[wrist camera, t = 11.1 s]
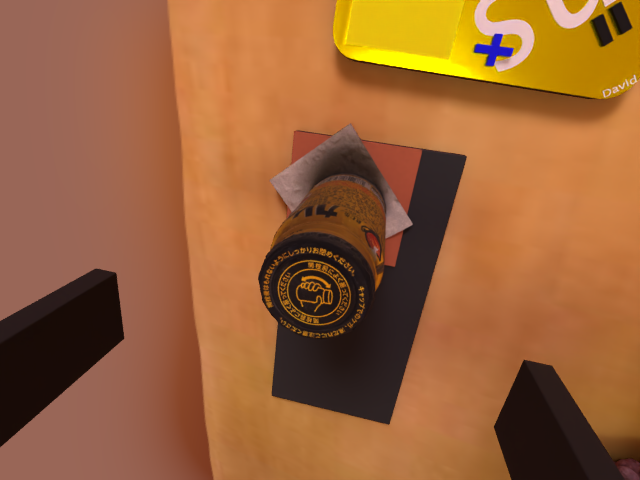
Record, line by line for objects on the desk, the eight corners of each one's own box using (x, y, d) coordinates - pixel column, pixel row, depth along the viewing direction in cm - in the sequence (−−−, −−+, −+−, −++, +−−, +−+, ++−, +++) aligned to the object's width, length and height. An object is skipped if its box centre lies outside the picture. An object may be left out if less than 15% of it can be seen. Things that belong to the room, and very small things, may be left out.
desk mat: (389, 419, 34) (389, 426, 33) (273, 391, 35) (270, 397, 34) (465, 155, 23) (467, 156, 23) (296, 130, 25) (294, 131, 24)
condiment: (331, 267, 28) (295, 375, 17) (270, 179, 26) (183, 237, 15) (412, 223, 25) (433, 317, 14) (351, 122, 23) (319, 141, 12)
